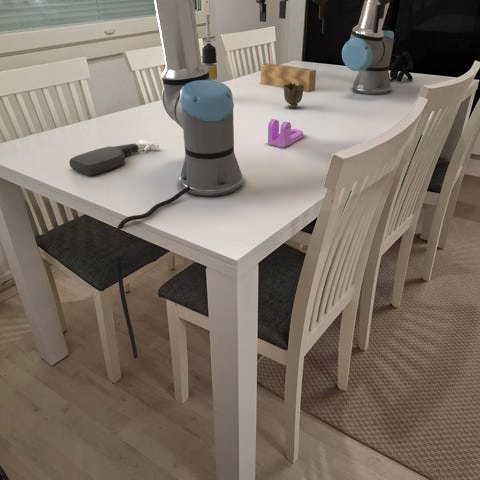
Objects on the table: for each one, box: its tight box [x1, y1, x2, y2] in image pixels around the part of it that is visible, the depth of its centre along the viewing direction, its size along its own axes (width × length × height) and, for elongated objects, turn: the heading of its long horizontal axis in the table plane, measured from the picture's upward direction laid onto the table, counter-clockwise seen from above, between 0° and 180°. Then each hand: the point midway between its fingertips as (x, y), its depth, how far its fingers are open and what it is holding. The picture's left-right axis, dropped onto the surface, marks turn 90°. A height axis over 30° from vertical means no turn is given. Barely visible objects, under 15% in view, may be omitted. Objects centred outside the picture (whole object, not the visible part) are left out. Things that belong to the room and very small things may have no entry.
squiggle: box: [389, 51, 414, 83], centre depth 198 cm, size 11×10×15 cm
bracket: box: [267, 118, 304, 148], centre depth 134 cm, size 13×6×7 cm, turn 143°
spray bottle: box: [68, 139, 160, 177], centre depth 124 cm, size 3×11×24 cm
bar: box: [260, 62, 317, 93], centre depth 192 cm, size 25×5×8 cm, turn 50°
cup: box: [283, 83, 304, 109], centre depth 164 cm, size 8×7×8 cm
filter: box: [201, 14, 218, 81], centre depth 171 cm, size 6×6×30 cm
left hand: (349, 32), depth 120 cm, fingers open, 13 cm apart
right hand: (272, 20), depth 185 cm, fingers open, 13 cm apart
